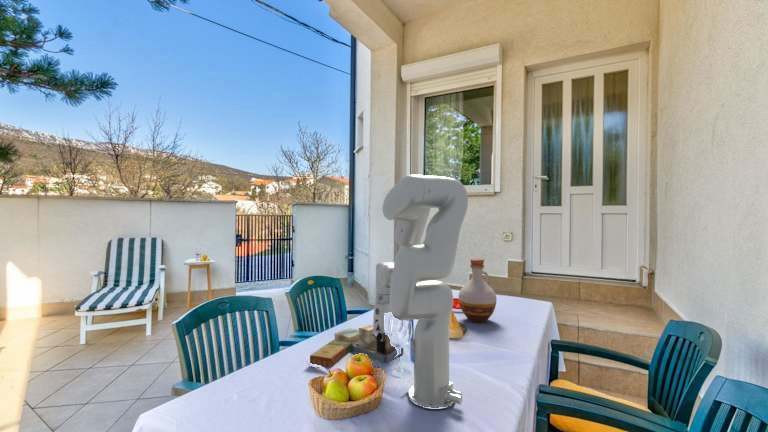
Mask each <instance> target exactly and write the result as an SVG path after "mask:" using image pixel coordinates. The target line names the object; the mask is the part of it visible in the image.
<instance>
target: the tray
mask: <svg viewBox="0 0 768 432" xmlns="http://www.w3.org/2000/svg"><path fill="white" fill-rule="evenodd" d="M350 352H353V353H356V354H359V353H364V354H367V355H368V356H369V357H368V358H371V359H374V360H377V361H379V362H381V363H385V364H386V363H388V362H390V361H393V360H394V359H395V358H394V357H395V356H396V355H397V350H395V351H393V352H391V353H389V354H387V355H383V354H380V353H377V352H376V350H374V351H371V350H368V349H365V348H362V347H359V342H358V343H355V344H353V345H351V351H350ZM403 354H404V347H402V348H401V355H400V356H402V355H403Z"/></svg>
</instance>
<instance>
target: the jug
mask: <svg viewBox="0 0 768 432" xmlns="http://www.w3.org/2000/svg"><path fill="white" fill-rule="evenodd" d="M469 260H470V268H471V271H472V272H471V273H472V277H471V279H470V280H469V281H468V282H467V283H466V284H465V285H464V286H462V287H461V288H460V290H459V292H458V303H459V307H460V308H461V311H462V313H463V314H464V316H465V317H466V318H467V320H468V321H469V322H471V321H472V322H471V323H475V322H477V323H478V324H483V322H484V323H486V322H487V321H488V320H489V319H490V317H491V316H492V315H494V312H495V309H496V305H497V294H496V292H495V291H494V289H493V288H492V287H491V278H490V275H489V273H488V272H487V271H485V270H484V268H485V265H484V263H485V258H482V257H481V258H480V257H473V258H470V259H469ZM483 275H484V276H485V277H486V281H485V280H484V278H483ZM477 323H476V324H477Z"/></svg>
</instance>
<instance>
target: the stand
mask: <svg viewBox="0 0 768 432" xmlns="http://www.w3.org/2000/svg"><path fill="white" fill-rule="evenodd" d="M334 340H338V341H347V342H352V345H353V344H355V343H358V342H359V329H355V328H351V327H347V328H345V329H342V330H339V331H336V332H334Z"/></svg>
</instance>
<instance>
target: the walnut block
mask: <svg viewBox="0 0 768 432" xmlns="http://www.w3.org/2000/svg"><path fill="white" fill-rule="evenodd" d="M381 335H382V334H381V333H380V336H381ZM384 341H385V353H381V352H378V351H377V340H376V352H377V353H380V354H383V355H387V354H389V353H391V352H393V351H395V350H396V349H395V347H393V346H391V344H390V339H389V337H388V336H387V335H385V337H384Z"/></svg>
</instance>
